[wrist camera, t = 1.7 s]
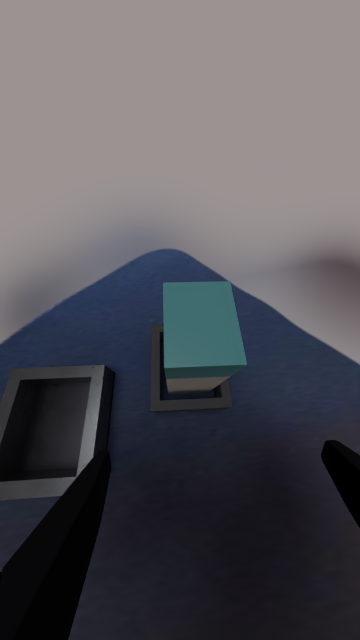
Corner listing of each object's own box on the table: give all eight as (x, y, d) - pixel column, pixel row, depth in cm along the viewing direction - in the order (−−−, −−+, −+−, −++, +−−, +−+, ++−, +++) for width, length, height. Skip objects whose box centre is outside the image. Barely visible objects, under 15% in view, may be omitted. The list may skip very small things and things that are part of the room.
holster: (224, 408, 19) (232, 406, 17) (153, 412, 19) (150, 411, 16) (214, 333, 23) (219, 322, 20) (154, 335, 23) (151, 324, 20)
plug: (207, 392, 20) (246, 364, 9) (168, 394, 20) (164, 367, 9) (202, 346, 22) (230, 281, 12) (167, 347, 22) (163, 282, 11)
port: (104, 479, 17) (88, 493, 14) (6, 486, 16) (-34, 502, 13) (114, 372, 21) (104, 364, 18) (36, 376, 20) (12, 368, 17)
